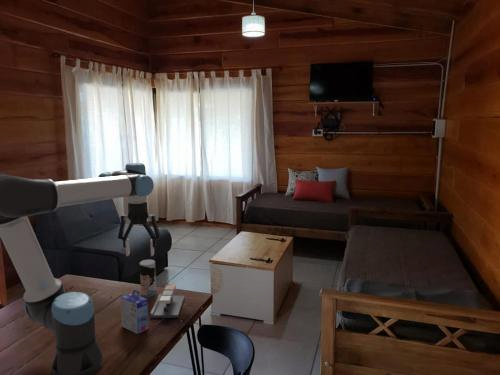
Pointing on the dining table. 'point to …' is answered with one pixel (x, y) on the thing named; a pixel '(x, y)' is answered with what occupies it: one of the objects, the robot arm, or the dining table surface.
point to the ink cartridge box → (134, 312)
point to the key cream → (165, 300)
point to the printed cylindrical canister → (148, 278)
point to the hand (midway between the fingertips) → (140, 254)
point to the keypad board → (167, 308)
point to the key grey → (168, 293)
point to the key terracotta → (170, 287)
